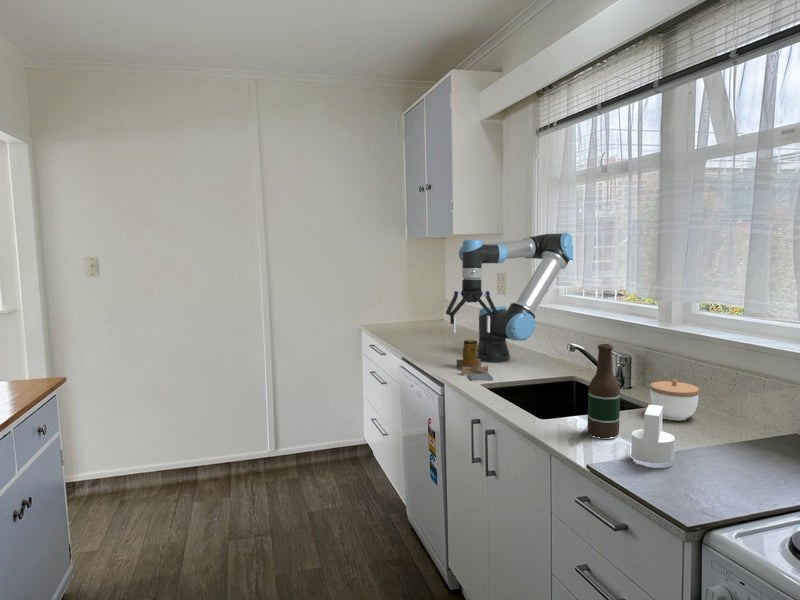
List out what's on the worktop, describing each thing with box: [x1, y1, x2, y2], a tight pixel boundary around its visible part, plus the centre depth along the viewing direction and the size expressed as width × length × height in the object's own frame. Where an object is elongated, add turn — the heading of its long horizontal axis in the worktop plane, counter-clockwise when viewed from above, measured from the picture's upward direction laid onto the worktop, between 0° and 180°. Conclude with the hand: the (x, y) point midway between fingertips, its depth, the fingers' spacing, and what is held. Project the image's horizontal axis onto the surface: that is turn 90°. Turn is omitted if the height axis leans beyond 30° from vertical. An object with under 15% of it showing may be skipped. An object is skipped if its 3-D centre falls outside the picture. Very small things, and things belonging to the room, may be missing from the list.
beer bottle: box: [587, 343, 621, 438], centre depth 144 cm, size 8×8×24 cm
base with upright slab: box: [630, 404, 676, 463], centre depth 127 cm, size 9×9×12 cm
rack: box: [456, 358, 489, 376], centre depth 222 cm, size 10×15×3 cm, turn 3°
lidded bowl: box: [649, 378, 700, 419], centre depth 159 cm, size 13×13×11 cm
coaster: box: [467, 372, 494, 381], centre depth 209 cm, size 8×8×1 cm
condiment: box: [462, 339, 478, 367], centre depth 222 cm, size 7×8×12 cm
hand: (471, 332), depth 221 cm, fingers open, 13 cm apart
